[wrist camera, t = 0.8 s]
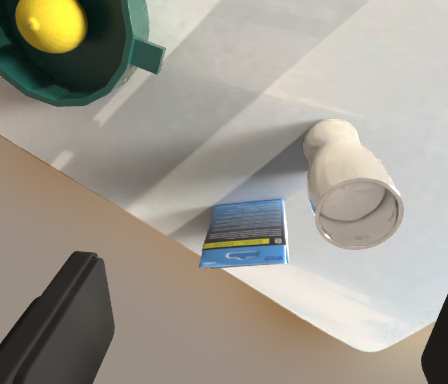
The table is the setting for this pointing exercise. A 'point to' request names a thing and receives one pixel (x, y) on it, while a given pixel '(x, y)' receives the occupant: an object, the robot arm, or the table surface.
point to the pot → (81, 54)
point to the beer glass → (349, 188)
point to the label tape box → (246, 235)
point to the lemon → (52, 24)
